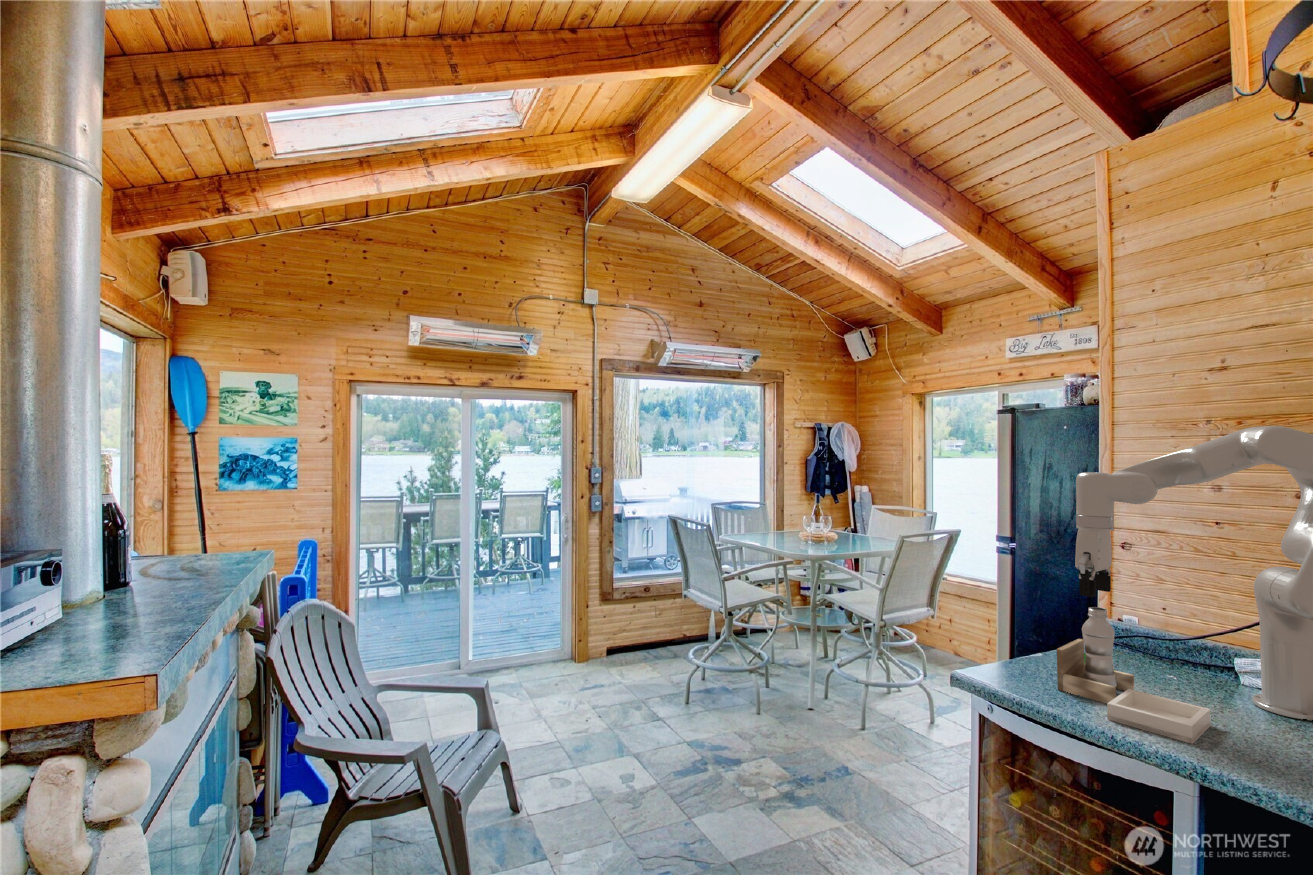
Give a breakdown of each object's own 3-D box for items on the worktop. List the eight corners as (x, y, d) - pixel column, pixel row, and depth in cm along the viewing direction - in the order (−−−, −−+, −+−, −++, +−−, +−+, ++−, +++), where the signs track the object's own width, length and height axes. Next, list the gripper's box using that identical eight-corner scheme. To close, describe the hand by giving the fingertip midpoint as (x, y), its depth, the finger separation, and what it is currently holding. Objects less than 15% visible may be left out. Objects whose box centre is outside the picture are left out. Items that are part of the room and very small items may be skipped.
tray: (1210, 725, 133) (1210, 708, 133) (1192, 743, 125) (1191, 726, 125) (1129, 704, 144) (1128, 688, 144) (1107, 719, 136) (1107, 703, 136)
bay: (1134, 691, 152) (1133, 649, 152) (1114, 705, 143) (1113, 661, 144) (1079, 677, 161) (1078, 638, 161) (1057, 690, 153) (1056, 648, 153)
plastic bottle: (1122, 697, 148) (1120, 612, 148) (1090, 695, 149) (1088, 611, 149) (1108, 687, 154) (1106, 606, 154) (1078, 686, 155) (1076, 605, 156)
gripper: (1090, 519, 161) (1091, 586, 160) (1063, 523, 150) (1063, 595, 150) (1125, 522, 155) (1126, 591, 154) (1099, 527, 144) (1099, 601, 144)
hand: (1095, 593), depth 152 cm, fingers open, 9 cm apart
